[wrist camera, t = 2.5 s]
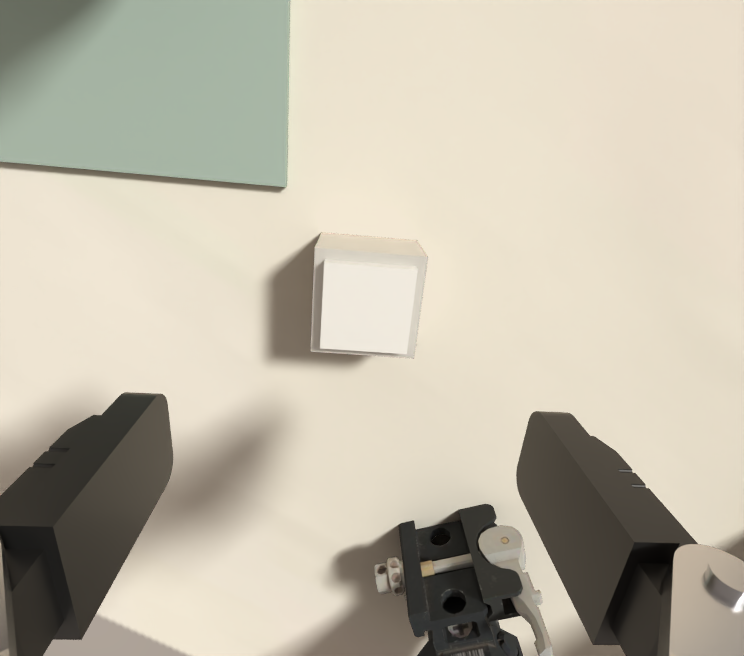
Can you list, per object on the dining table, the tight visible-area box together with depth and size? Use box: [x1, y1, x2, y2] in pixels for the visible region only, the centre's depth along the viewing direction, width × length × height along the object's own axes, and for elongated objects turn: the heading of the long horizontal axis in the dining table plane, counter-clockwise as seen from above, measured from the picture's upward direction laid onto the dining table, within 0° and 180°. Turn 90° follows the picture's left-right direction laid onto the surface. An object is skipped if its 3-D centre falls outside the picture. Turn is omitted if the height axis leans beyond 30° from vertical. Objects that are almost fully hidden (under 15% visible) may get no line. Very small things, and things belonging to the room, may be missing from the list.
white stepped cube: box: [311, 232, 428, 359], centre depth 18 cm, size 4×4×4 cm
